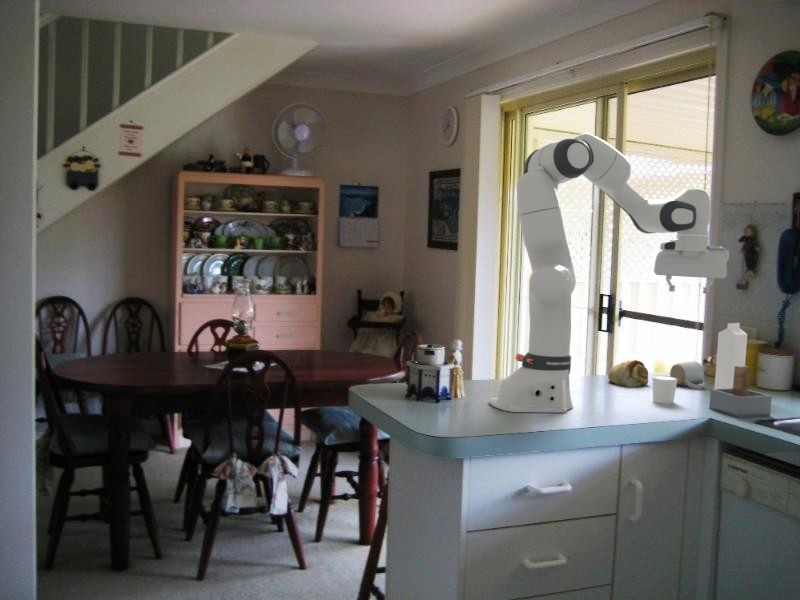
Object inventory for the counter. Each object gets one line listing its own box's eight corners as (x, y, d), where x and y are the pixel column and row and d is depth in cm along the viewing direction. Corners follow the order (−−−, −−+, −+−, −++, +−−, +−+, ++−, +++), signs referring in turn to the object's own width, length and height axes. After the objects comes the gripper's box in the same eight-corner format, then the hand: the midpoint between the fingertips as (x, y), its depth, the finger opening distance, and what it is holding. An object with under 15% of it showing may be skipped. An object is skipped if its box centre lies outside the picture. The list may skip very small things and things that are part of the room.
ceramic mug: (667, 383, 275) (669, 359, 274) (687, 382, 278) (689, 359, 277) (689, 390, 265) (691, 366, 264) (710, 389, 268) (712, 365, 268)
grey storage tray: (737, 417, 227) (738, 397, 226) (709, 408, 237) (710, 389, 236) (770, 415, 230) (771, 395, 230) (741, 407, 241) (742, 388, 240)
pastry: (645, 389, 264) (647, 363, 263) (604, 385, 268) (606, 360, 267) (650, 382, 277) (652, 358, 276) (611, 378, 281) (612, 354, 280)
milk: (713, 394, 260) (718, 322, 258) (725, 392, 263) (730, 321, 262) (731, 397, 255) (736, 324, 253) (743, 395, 258) (748, 323, 257)
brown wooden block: (736, 410, 232) (740, 367, 231) (731, 409, 234) (734, 365, 233) (746, 410, 233) (750, 366, 232) (741, 408, 235) (744, 365, 234)
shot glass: (677, 404, 240) (678, 380, 240) (651, 403, 242) (653, 378, 241) (674, 400, 247) (676, 376, 246) (649, 398, 248) (651, 374, 248)
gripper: (730, 246, 247) (726, 294, 249) (657, 243, 255) (654, 289, 256) (729, 246, 242) (726, 295, 243) (655, 243, 249) (651, 290, 251)
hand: (688, 292), depth 250 cm, fingers open, 8 cm apart
